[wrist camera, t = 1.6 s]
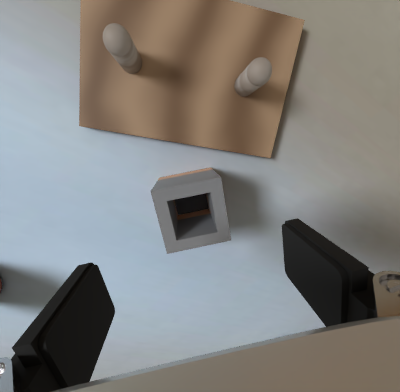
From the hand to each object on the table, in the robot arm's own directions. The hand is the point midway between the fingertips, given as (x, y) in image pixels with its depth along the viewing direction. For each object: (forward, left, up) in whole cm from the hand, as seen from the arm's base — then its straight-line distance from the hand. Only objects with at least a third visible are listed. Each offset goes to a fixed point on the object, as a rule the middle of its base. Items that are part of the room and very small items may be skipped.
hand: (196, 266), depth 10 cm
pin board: (+2, -12, -14) cm, 19 cm away
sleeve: (0, 0, -14) cm, 14 cm away
